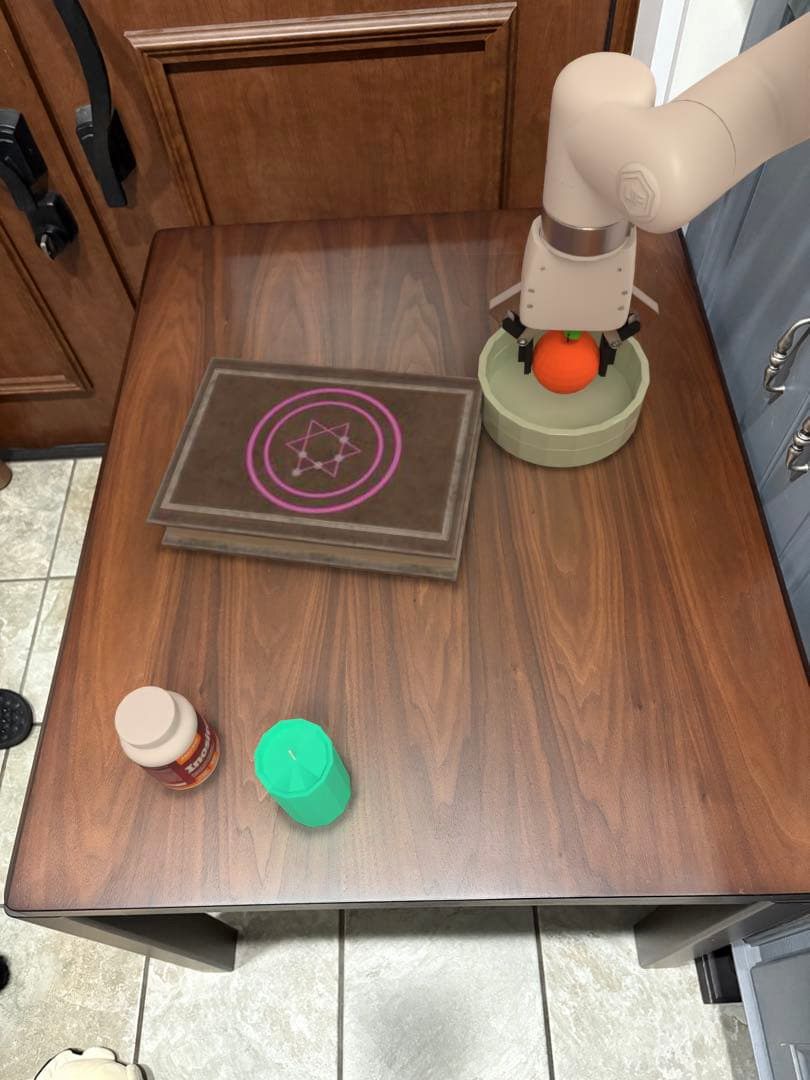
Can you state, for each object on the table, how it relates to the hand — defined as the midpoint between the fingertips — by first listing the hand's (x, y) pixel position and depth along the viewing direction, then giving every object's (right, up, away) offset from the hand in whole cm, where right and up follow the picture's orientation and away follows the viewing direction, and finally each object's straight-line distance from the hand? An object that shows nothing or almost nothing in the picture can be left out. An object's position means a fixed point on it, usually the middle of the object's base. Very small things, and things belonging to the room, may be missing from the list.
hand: (564, 364), depth 82 cm
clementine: (0, -1, +2) cm, 3 cm away
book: (-25, -11, +3) cm, 27 cm away
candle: (-24, -40, -14) cm, 49 cm away
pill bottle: (-36, -37, -12) cm, 53 cm away
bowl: (0, -3, +5) cm, 6 cm away
